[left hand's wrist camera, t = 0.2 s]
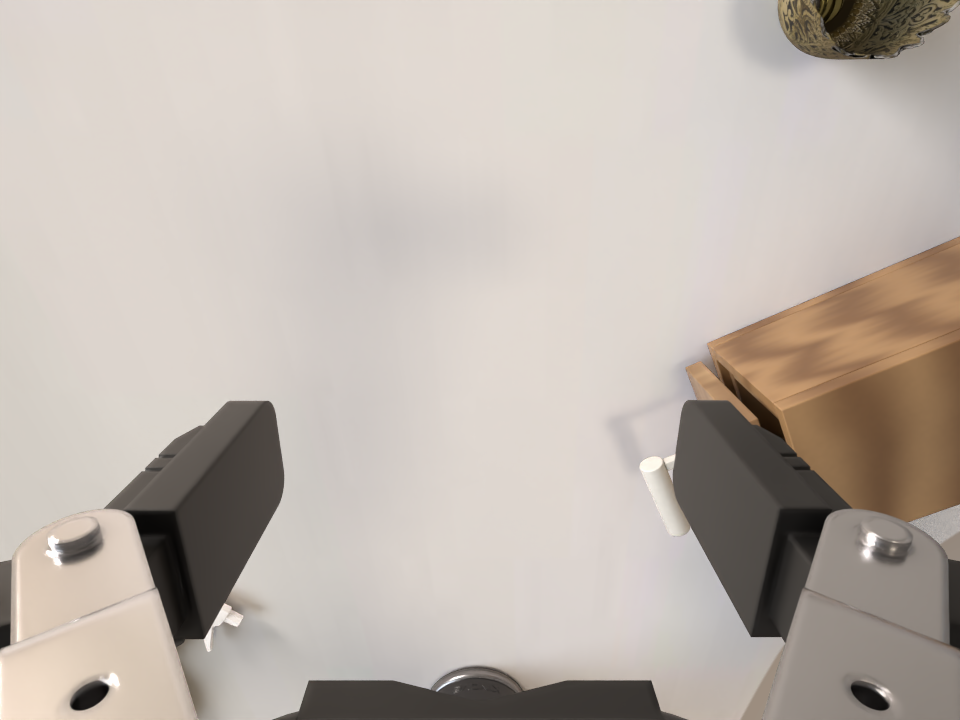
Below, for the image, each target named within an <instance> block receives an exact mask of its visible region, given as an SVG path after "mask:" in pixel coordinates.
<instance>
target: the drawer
mask: <svg viewBox="0 0 960 720" xmlns="http://www.w3.org/2000/svg"><path fill="white" fill-rule="evenodd" d="M686 371H687V374H688V376H689V379H690V382H691V384H692V387H693V390H694V392H695V395H696V398H697V400H728V401H729V402H731V403H732V404H733V405H734V406H735V408H736V409H737V410H738V411H739V412H740V413H741V414H742V415H743V416H744V417H745V418H746V419H747V420H748V421H749V422H750V423H751V424H752V425H758V426H760V427H762V428H764V429H766V430H767V431H769V432H771V433H773V434H775V435H776V436H778V437H780V438H782V439H783V440H784V441H785V442H786V440H785V437H784V434H783V431H782V428H781V425H780V422H779V419H778V416H777V415H776V414H775V413H774V412H772V411H771V410H770V409H769V408H768V407H767V406H766V405H765V404H764V403H763V402H762V401H761V400H760V399H758V398H757V397H756V396H755V395H754V394H753V393H752V392H751V391H750V390H749V389H748V388H747V387H746V386H744V385H743V384H742V383H741V382H740V381H739V380H738V379H737V378H736V377H735V376H734V375H733V374H732V373H731V372H729V374H730V377H731V379H732V382H733V385H734V388H735V391H736V394H737V397H738V398H737V397H736V396H735V395H734V394H733V393H732V392H731V391H730V390H729V389H728V388H727V387H726V386H725V385H724V384H723V383H722V382H721V381H720V380H719V379H718V378H717V377H716V376H715V375H714V374H713V373H712V372H711V371H710V370H709V369H708V368H707V367H706V366H705V365H704V364H703V363H702V362H701V361H700V362H698V363H695V364H693V365H690V366H688V367H686ZM674 461H675V454H674V455H672V456H669V457H667V458H664V459H662V458H660V457H657V456H652V457H648V458H646V459H644V460H643V461H642V462H641V464H640V470H641V472H642V475H643V477H644V479H645V481H646V484H647V486H648V488H649V490H650V493H651V495H652V497H653V500H654V502H655V504H656V506H657V509H658V511H659V513H660V516H661V518H662V520H663V522H664V525H665V527H666V529H667V532H668V533H669V534H670V535H672V536H676V537H678V536H683V535H685V534H686V533H687V532H688V531H689V530H690V524H689V523H688V521H687V519H686V517H685V515H684V513H683V512H682V510H681V508H680V506H679V504H678V502H677V500H676V497H675V492H674V487H673V483H672V480H671V478H670V476H669V473H668V471H669V470H672V469H673V468H674ZM666 468H667V469H666ZM667 470H668V471H667Z"/></svg>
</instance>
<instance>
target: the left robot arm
mask: <svg viewBox="0 0 960 720" xmlns="http://www.w3.org/2000/svg"><path fill="white" fill-rule="evenodd" d="M673 487H674V492H675V497H676V500H677V502H678V504H679V506H680V508H681V510H682V512H683V513H684V515H685V517H686V519H687V521H688V523H689V524H690V526H691V528H692V530H693V532H694V533H695V535H696V537H697V539H698V541H699V543H700V544H701V546H702V548H703V550H704V552H705V554H706V555H707V557H708V559H709V561H710V563H711V565H712V566H713V568H714V570H715V572H716V574H717V576H718V577H719V579H720V581H721V583H722V585H723V587H724V588H725V590H726V592H727V594H728V596H729V598H730V599H731V601H732V603H733V605H734V607H735V609H736V610H737V612H738V614H739V616H740V618H741V620H742V621H743V623H744V625H745V627H746V629H747V631H748V632H749V634H750V636H751V637H782V638H783V640H784V642H785V646H784V649H783V653H782V656H781V659H780V662H779V665H778V669H777V672H776V675H775V678H774V682H773V685H772V688H771V691H770V694H769V698H768V701H767V704H766V707H765V711H764V714H763V717H762V720H960V561H955V560H950V559H948V557H947V555H946V553H945V551H944V549H943V548H942V547H941V546H940V544H939V543H938V542H936V541H935V540H934V539H933V538H932V537H931V536H929V535H928V534H927V533H925V532H924V531H922V530H920V529H919V528H917V527H915V526H913V525H911V524H909V523H907V522H905V521H903V520H900V519H898V518H895V517H892V516H890V515H886V514H883V513H879V512H875V511H870V510H863V509H853V508H852V507H851V506H850V505H849V504H848V503H847V502H846V501H845V500H844V499H842V498H841V497H840V496H839V495H838V494H837V493H836V492H835V491H834V490H833V489H832V488H831V487H830V486H829V485H828V484H827V483H826V482H825V481H824V480H823V479H822V478H821V477H820V476H819V475H818V474H817V473H816V472H815V471H814V470H811V469H810V466H809V465H808V464H807V463H806V462H805V461H804V460H803V459H802V458H801V457H797V453H796V452H795V451H794V450H793V449H792V448H791V447H790V446H789V445H788V444H787V443H786V442H785V441H784V440H783V439H782V438H780V437H778V436H776V435H775V434H773V433H771V432H769V431H767V430H766V429H764V428H762V427H760V426H758V425H752V424H751V423H750V422H749V421H748V420H747V419H746V418H745V417H744V416H743V415H742V414H741V413H740V412H739V411H738V410H737V409H736V408H735V406H734V405H733V404H732V403H731V402H729V401H728V400H688V401H686V402H685V404H684V406H683V408H682V413H681V419H680V426H679V433H678V440H677V447H676V454H675V461H674V468H673ZM283 488H284V469H283V462H282V455H281V448H280V441H279V434H278V427H277V420H276V414H275V410H274V407H273V405H272V403H271V402H269V401H229V402H227V403H226V404H225V405H224V406H223V407H222V408H221V409H220V410H219V411H218V412H217V413H216V414H215V415H214V416H213V417H212V418H211V419H210V420H209V421H208V422H207V423H206V424H205V425H204V426H198V427H196V428H194V429H193V430H191V431H189V432H187V433H185V434H183V435H182V436H180V437H178V438H176V439H175V440H174V441H173V442H171V443H170V444H169V445H168V446H167V447H166V448H165V449H164V450H163V451H162V452H161V453H160V454H159V458H155V459H154V460H153V461H152V462H151V463H150V464H149V465H148V466H147V467H146V468H145V472H141V473H140V474H139V475H138V476H137V477H136V478H135V479H134V480H133V481H132V482H131V483H130V484H129V485H128V486H126V487H125V488H124V489H123V490H122V491H121V492H120V493H119V494H118V495H117V496H116V497H115V498H114V499H113V500H112V501H111V502H110V503H109V504H108V505H107V506H106V507H105V508H104V509H97V510H90V511H85V512H81V513H77V514H74V515H70V516H68V517H65V518H62V519H60V520H57V521H55V522H53V523H51V524H49V525H47V526H45V527H43V528H41V529H40V530H38V531H36V532H35V533H33V534H32V535H31V536H29V537H28V538H27V539H26V540H25V541H24V542H22V543H21V544H20V546H19V547H18V548H17V549H16V551H15V553H14V555H13V557H12V560H9V561H4V562H0V720H198V717H197V714H196V710H195V707H194V704H193V701H192V698H191V694H190V691H189V688H188V685H187V681H186V678H185V675H184V672H183V669H182V665H181V662H180V659H179V656H178V653H177V649H176V646H175V643H174V640H173V639H205V637H206V635H207V634H208V632H209V630H210V628H211V626H212V625H213V623H214V621H215V619H216V617H217V616H218V614H219V612H220V610H221V608H222V606H223V605H224V603H225V601H226V599H227V597H228V596H229V594H230V592H231V590H232V588H233V587H234V585H235V583H236V581H237V579H238V578H239V576H240V574H241V572H242V570H243V569H244V567H245V565H246V563H247V561H248V559H249V558H250V556H251V554H252V552H253V550H254V549H255V547H256V545H257V543H258V541H259V540H260V538H261V536H262V534H263V532H264V531H265V529H266V527H267V525H268V523H269V521H270V520H271V518H272V516H273V514H274V512H275V511H276V509H277V507H278V505H279V503H280V501H281V498H282V494H283ZM273 720H687V719H684V718H681V717H678V716H676V715H673V714H669V713H666V712H662V711H661V710H660V707H659V704H658V701H657V698H656V694H655V691H654V688H653V685H652V682H651V681H563V682H559V683H555V684H551V685H547V686H543V687H539V688H535V689H531V690H527V691H523V692H522V690H521V688H520V687H519V685H518V684H517V683H516V682H515V681H514V680H512V679H511V678H510V677H508V676H506V675H505V674H503V673H500V672H498V671H494V670H491V669H485V668H467V669H461V670H457V671H454V672H452V673H449V674H447V675H446V676H444V677H442V678H441V679H440V680H438V681H437V682H436V683H435V684H434V686H433V687H432V688H431V690H429V689H425V688H421V687H417V686H413V685H409V684H405V683H401V682H397V681H309V682H308V685H307V688H306V691H305V694H304V698H303V701H302V704H301V707H300V710H299V711H298V712H294V713H291V714H287V715H284V716H282V717H279V718H276V719H273Z"/></svg>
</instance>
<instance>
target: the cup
mask: <svg viewBox="0 0 960 720" xmlns="http://www.w3.org/2000/svg"><path fill="white" fill-rule="evenodd" d="M958 5H960V0H820V7H819V10H817V7H816V2H815V0H778V15H779V20H780V24H781V27H782V29H783V31H784V33H785V35H786V37H787V38H788V39H789V41H790V42H791V43H792V44H793V45H794V46H795V47H796V48H798V49H799V50H801V51H802V52H804V53H806V54H809V55H812V56H815V57H820V58H825V59H887V58H893V57H897V56H898V55H899V54H900V52H901V51H902V50H904V49H910V48H914V47H918V46H920V45H922V44H924V39H923V38H924V37H923V38H922V37H921V36H922V35H926V34H929V33H931V32H932V31H933V30H934V29H936V28H938V27H940V26H942V25H944V24H945V23H947V22H948V21H949V19H950V16H949V14H947V13H949V12H951V11H953V10H954V9H955V8H956V7H957V6H958Z"/></svg>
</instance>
